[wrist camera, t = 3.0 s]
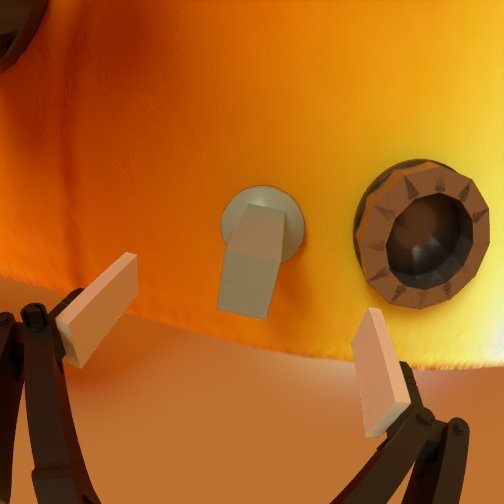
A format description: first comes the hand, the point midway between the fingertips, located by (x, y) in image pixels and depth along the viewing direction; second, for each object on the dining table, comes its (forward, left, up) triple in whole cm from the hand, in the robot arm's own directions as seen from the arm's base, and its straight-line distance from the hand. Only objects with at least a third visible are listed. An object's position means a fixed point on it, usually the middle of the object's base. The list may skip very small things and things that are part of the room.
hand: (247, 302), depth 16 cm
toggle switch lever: (0, 0, -11) cm, 11 cm away
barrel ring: (+14, +3, -11) cm, 18 cm away
